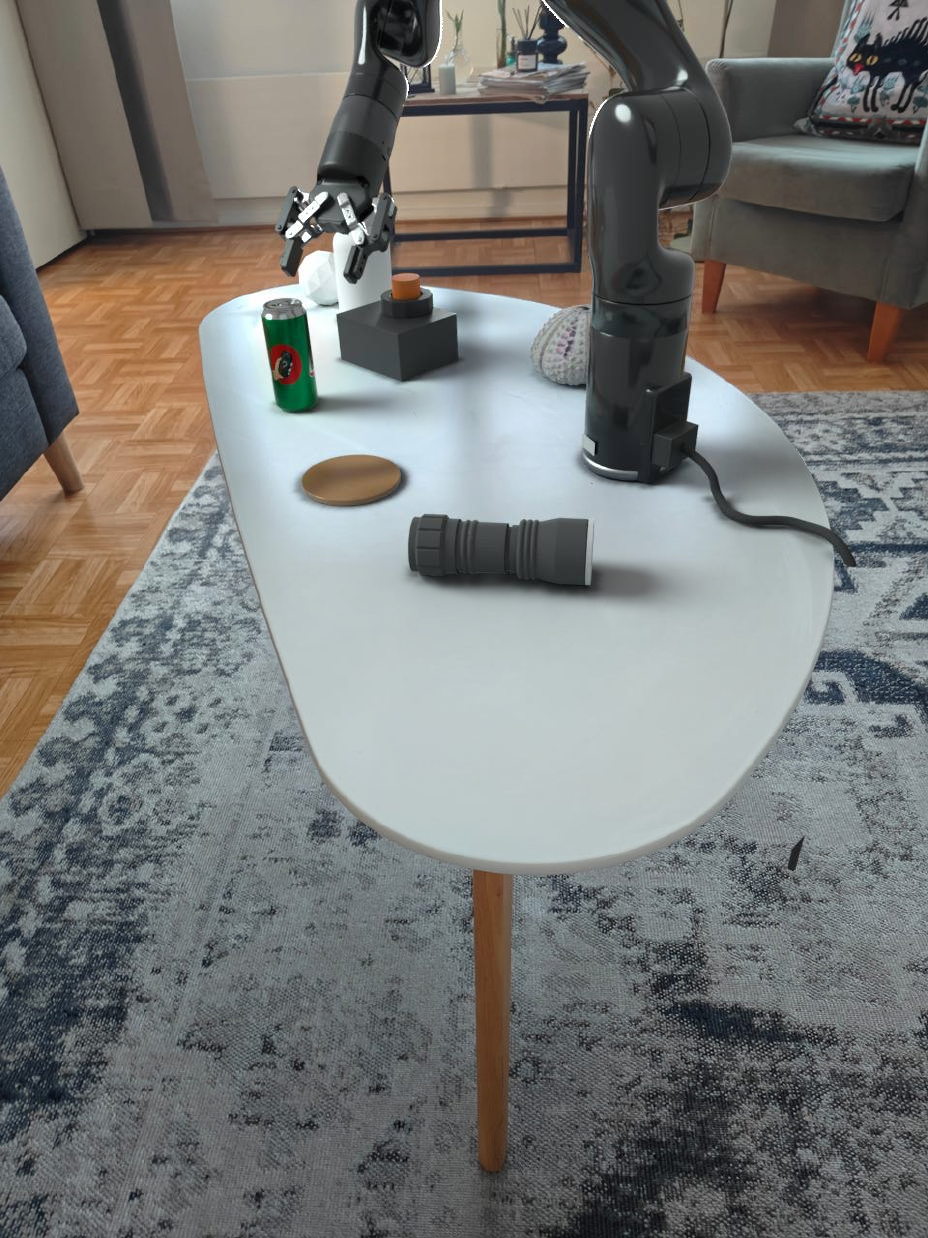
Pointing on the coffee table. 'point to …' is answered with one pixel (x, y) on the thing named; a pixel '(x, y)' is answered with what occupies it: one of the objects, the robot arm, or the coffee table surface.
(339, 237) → the pill bottle
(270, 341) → the soda can
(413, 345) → the push button base
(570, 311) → the sea urchin shell
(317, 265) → the geometric ball
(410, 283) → the button
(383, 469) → the coaster
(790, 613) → the coffee table surface
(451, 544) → the flashlight
